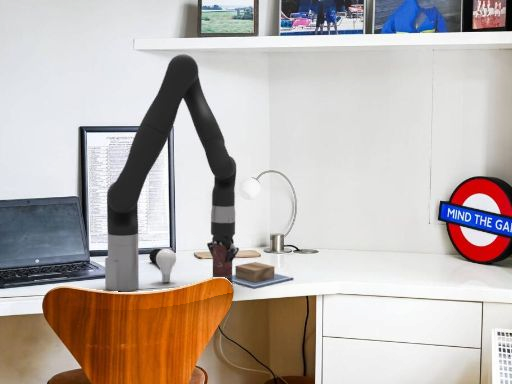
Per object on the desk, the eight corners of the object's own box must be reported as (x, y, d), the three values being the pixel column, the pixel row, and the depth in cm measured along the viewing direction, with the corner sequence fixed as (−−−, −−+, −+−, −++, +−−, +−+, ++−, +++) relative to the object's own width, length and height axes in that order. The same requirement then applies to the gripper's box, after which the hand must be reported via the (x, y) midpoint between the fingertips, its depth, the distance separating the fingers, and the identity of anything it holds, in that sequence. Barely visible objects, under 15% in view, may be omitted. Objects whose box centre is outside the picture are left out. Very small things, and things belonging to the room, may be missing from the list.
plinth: (254, 282, 213) (254, 270, 213) (235, 277, 219) (235, 265, 219) (274, 278, 219) (274, 266, 219) (255, 273, 226) (255, 262, 225)
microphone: (172, 282, 228) (159, 262, 246) (178, 266, 227) (165, 248, 246) (157, 278, 226) (145, 259, 244) (163, 262, 225) (151, 244, 243)
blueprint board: (254, 288, 208) (254, 286, 208) (220, 279, 220) (220, 277, 219) (293, 279, 221) (293, 277, 220) (259, 271, 232) (259, 269, 232)
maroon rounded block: (230, 290, 206) (230, 245, 205) (210, 288, 207) (210, 244, 206) (234, 285, 212) (235, 241, 211) (215, 284, 213) (215, 240, 212)
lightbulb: (161, 286, 210) (161, 251, 209) (152, 282, 215) (152, 248, 214) (179, 283, 213) (179, 249, 212) (170, 279, 219) (170, 246, 217)
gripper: (200, 218, 209) (199, 272, 211) (228, 223, 200) (227, 280, 202) (218, 216, 215) (217, 269, 216) (246, 221, 205) (245, 276, 207)
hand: (222, 274), depth 209 cm, fingers closed
